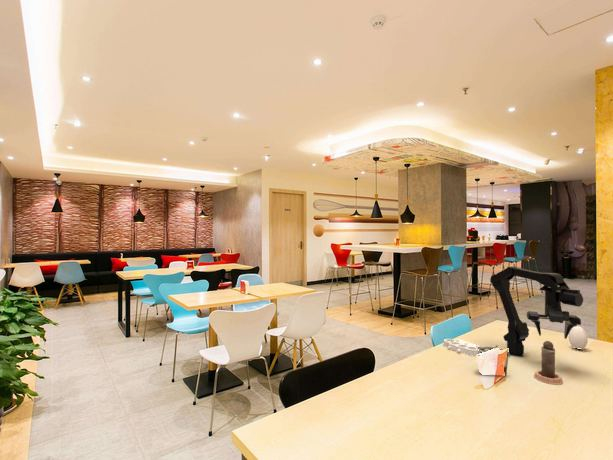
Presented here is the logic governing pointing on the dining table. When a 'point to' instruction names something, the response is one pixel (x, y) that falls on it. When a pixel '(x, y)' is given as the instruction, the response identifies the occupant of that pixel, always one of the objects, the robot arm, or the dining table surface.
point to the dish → (555, 381)
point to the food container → (484, 349)
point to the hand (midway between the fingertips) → (552, 337)
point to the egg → (578, 337)
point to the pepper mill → (548, 360)
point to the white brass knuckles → (462, 346)
